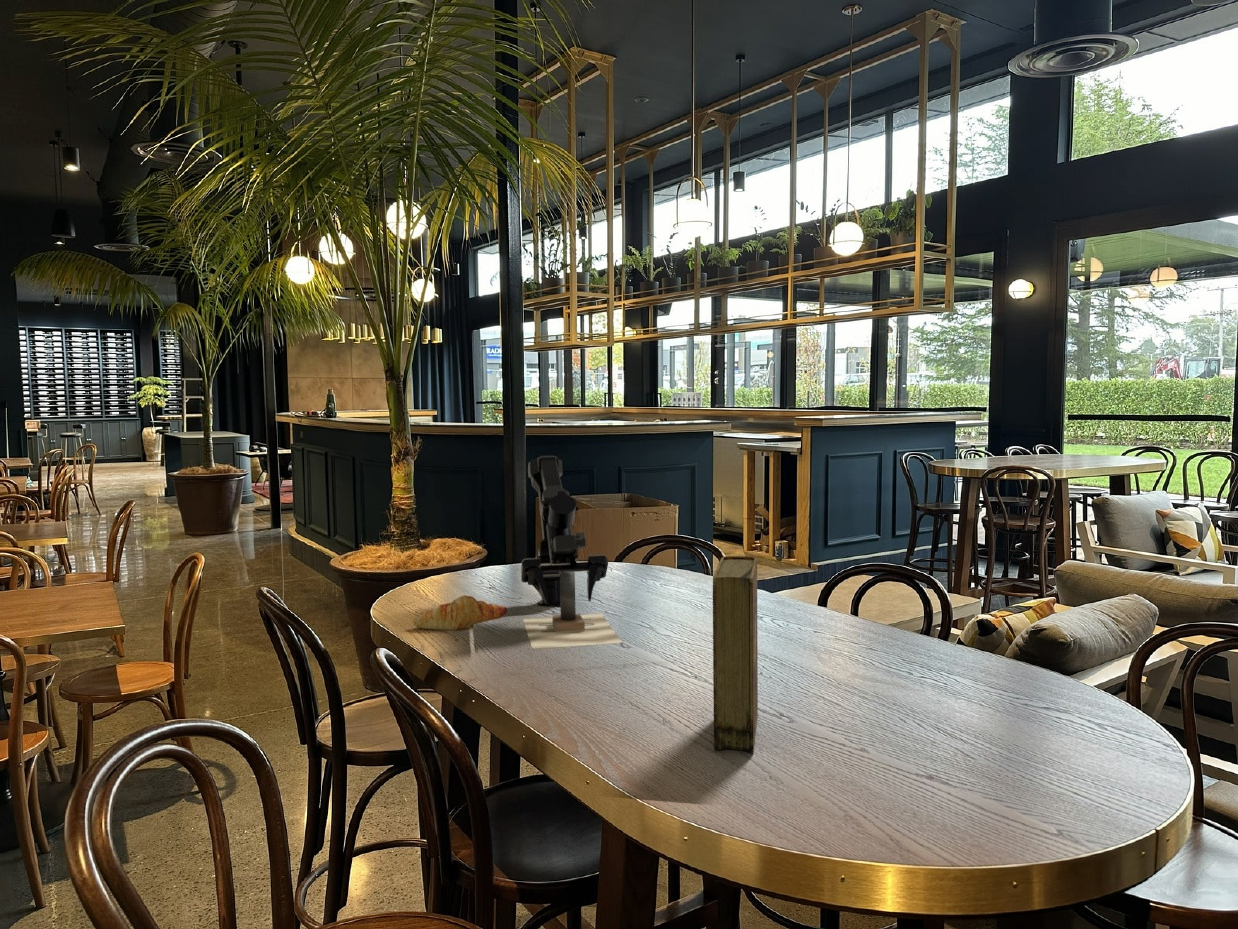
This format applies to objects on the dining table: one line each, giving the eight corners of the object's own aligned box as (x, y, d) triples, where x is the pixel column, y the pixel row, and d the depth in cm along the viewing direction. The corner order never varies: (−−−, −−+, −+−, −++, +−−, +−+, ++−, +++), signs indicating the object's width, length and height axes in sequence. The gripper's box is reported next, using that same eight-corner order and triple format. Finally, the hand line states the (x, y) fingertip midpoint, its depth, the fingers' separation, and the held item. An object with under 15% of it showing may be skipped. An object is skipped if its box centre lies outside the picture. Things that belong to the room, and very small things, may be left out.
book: (723, 711, 133) (722, 555, 132) (758, 713, 132) (757, 556, 130) (713, 753, 117) (712, 577, 116) (753, 756, 116) (752, 578, 114)
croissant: (416, 649, 182) (417, 621, 178) (408, 618, 190) (409, 591, 186) (510, 635, 190) (513, 608, 186) (499, 606, 198) (502, 580, 194)
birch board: (522, 623, 189) (522, 618, 189) (601, 617, 192) (601, 613, 192) (532, 654, 165) (532, 649, 165) (622, 647, 169) (622, 642, 169)
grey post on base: (552, 624, 183) (551, 570, 182) (579, 622, 184) (578, 568, 183) (556, 633, 176) (555, 576, 175) (584, 631, 177) (583, 575, 177)
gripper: (520, 522, 181) (526, 583, 171) (605, 518, 184) (616, 578, 174) (518, 551, 189) (524, 611, 179) (600, 547, 193) (609, 606, 183)
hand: (568, 601), depth 179 cm, fingers open, 9 cm apart
